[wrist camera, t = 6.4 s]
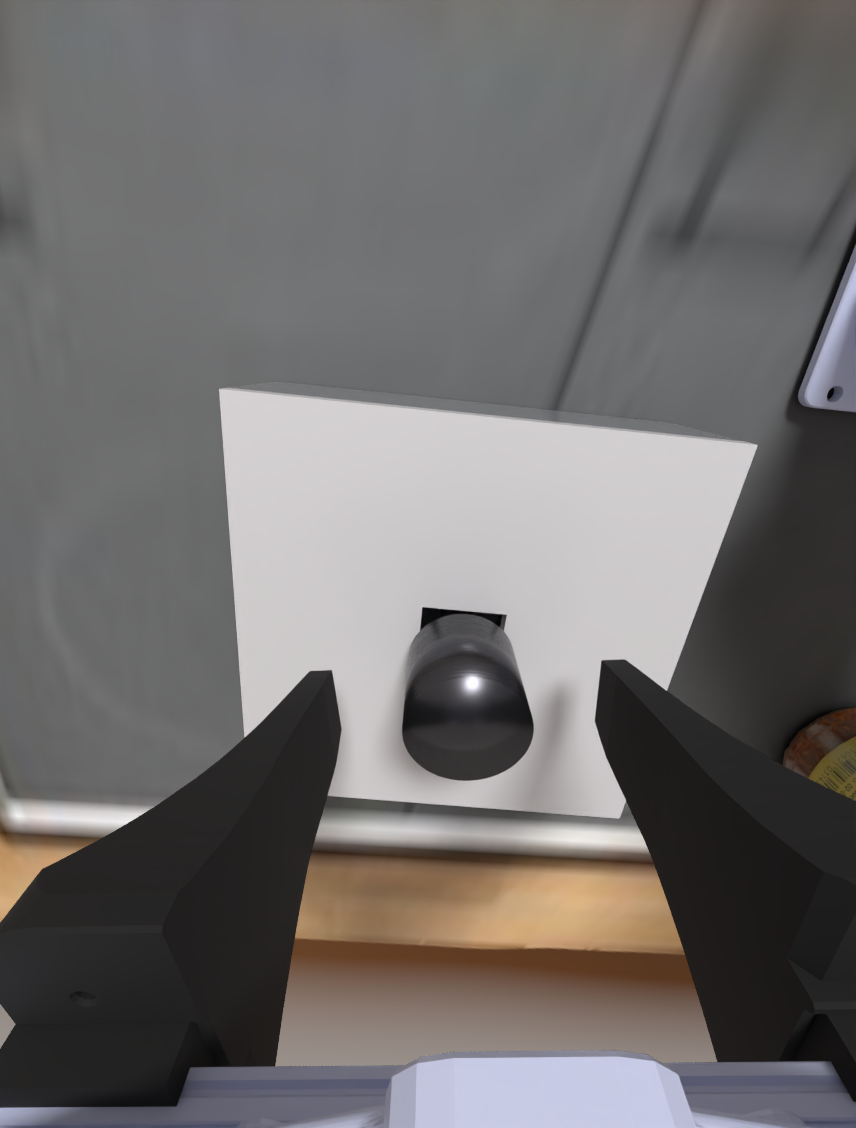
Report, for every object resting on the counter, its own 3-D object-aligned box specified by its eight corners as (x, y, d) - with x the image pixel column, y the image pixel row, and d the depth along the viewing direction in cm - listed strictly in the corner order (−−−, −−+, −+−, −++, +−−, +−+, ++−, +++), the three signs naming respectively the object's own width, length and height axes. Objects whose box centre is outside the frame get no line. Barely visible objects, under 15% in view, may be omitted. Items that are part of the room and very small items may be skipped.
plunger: (626, 464, 17) (775, 543, 9) (561, 709, 21) (629, 892, 14) (316, 433, 16) (222, 489, 9) (314, 688, 21) (251, 865, 13)
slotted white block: (669, 422, 17) (757, 445, 12) (580, 725, 22) (619, 818, 18) (278, 381, 16) (219, 388, 12) (286, 700, 22) (248, 789, 17)
